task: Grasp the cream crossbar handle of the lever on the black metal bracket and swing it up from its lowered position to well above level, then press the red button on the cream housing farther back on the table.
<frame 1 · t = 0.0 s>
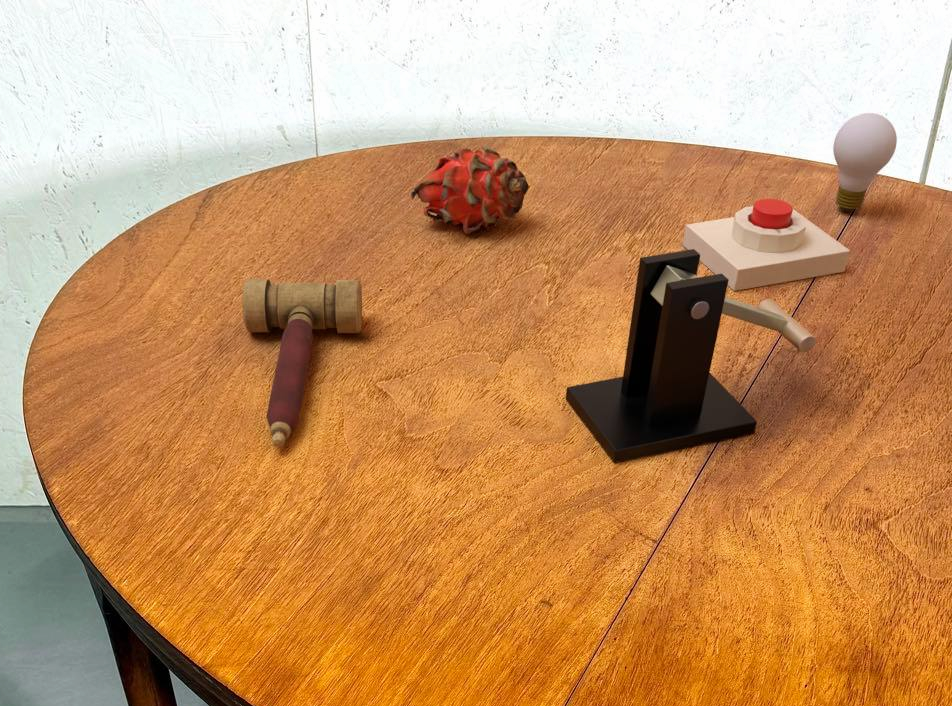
light bulb: (846, 212, 112), on the table
button: (771, 215, 101), point 4 cm above the table, slide at 0.1 cm
lever: (731, 307, 79), point 9 cm above the table, hinge at -25.0°
dragon fruit: (469, 227, 110), on the table
button box: (761, 258, 104), on the table
bracket: (657, 416, 84), on the table
gavel: (295, 381, 89), on the table
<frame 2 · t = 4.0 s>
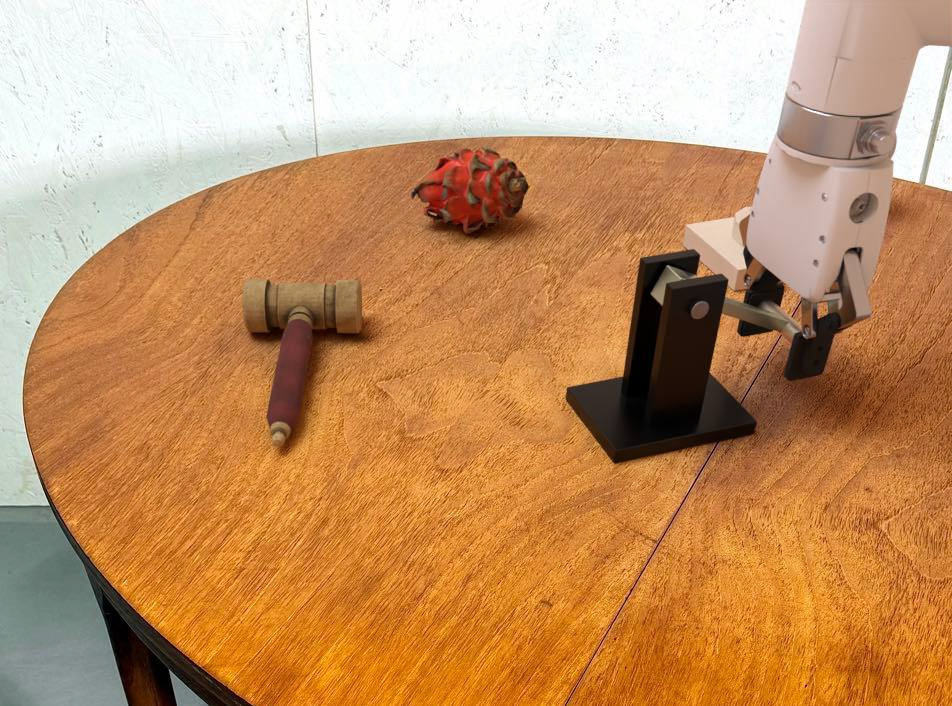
hand: (778, 352, 84), 4 cm above the table, tool pointing down, fingers closed on lever, 6 cm apart
lever: (731, 307, 79), point 9 cm above the table, hinge at -25.0°, touching gripper
everything else where it was.
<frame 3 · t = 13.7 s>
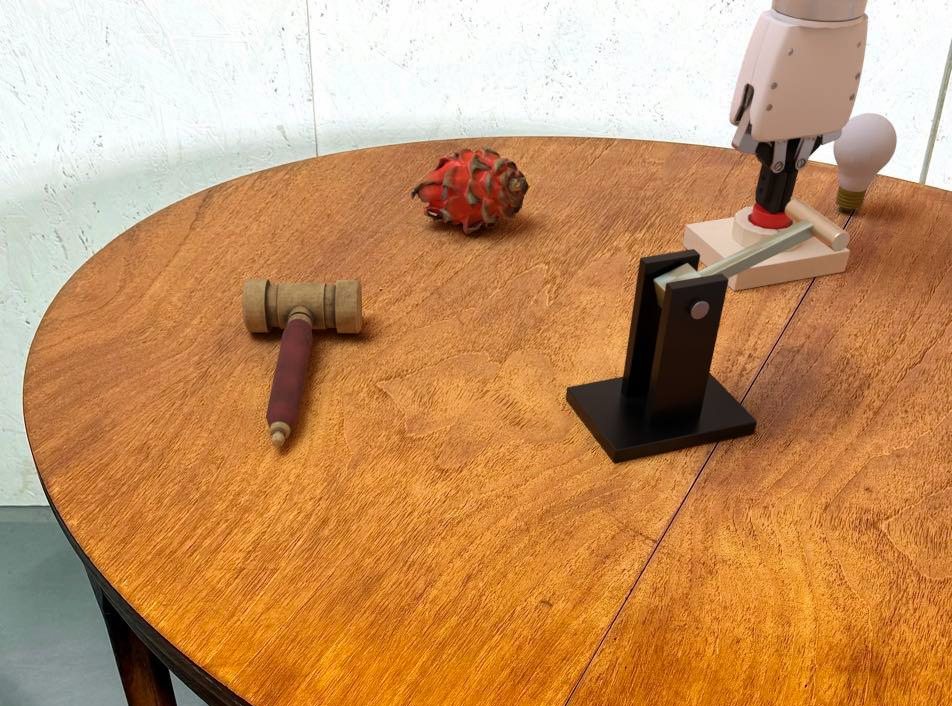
hand: (770, 206, 101), 5 cm above the table, tool pointing down, fingers closed
button: (771, 216, 101), point 4 cm above the table, slide at 0.0 cm, touching gripper
lever: (743, 259, 77), point 13 cm above the table, hinge at 18.9°
everything else where it was.
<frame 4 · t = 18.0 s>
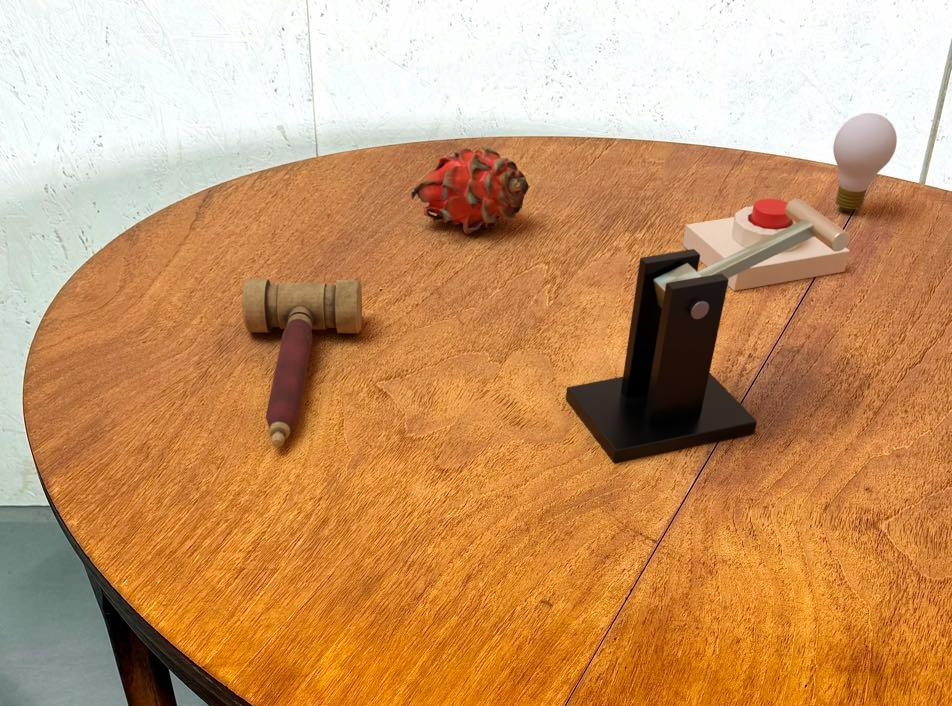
button: (771, 215, 101), point 4 cm above the table, slide at 0.1 cm
everything else where it was.
at the end: lever at +19° (first picture: -25°); button pushed in 1.1 cm at the most during the clip, back to where it started at the end; button slide at 0.1 cm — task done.
